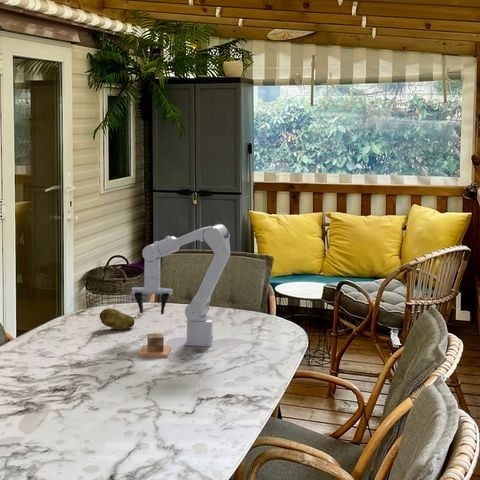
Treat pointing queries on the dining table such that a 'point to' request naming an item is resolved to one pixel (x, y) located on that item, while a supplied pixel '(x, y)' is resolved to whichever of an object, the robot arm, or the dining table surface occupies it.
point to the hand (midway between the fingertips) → (151, 313)
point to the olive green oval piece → (116, 319)
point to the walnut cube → (155, 342)
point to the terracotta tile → (146, 353)
